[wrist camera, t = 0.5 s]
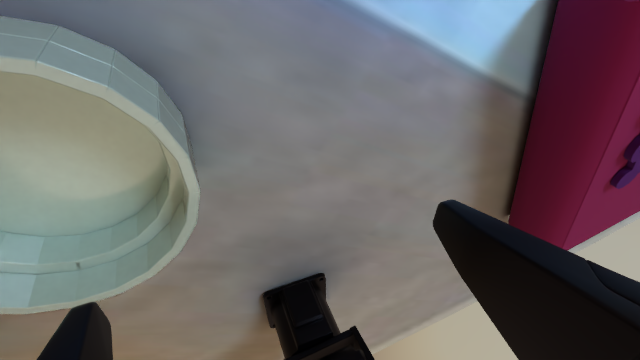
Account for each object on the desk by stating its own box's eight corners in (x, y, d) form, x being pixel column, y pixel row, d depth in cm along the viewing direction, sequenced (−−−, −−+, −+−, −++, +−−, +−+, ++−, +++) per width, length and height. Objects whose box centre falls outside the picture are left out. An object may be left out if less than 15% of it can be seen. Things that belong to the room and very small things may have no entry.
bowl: (212, 209, 25) (223, 262, 22) (-19, 272, 21) (-52, 347, 18) (145, -5, 16) (146, 24, 13) (-278, 37, 12) (-450, 96, 9)
